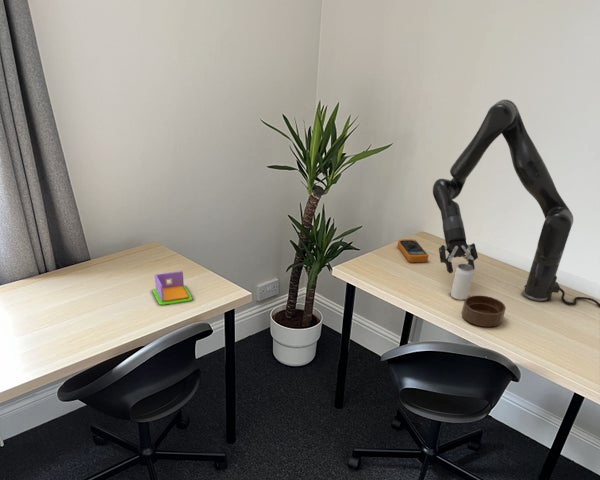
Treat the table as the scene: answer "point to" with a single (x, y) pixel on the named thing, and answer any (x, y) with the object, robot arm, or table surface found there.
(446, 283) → the table surface
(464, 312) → the bowl
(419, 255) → the multimeter
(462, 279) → the can
